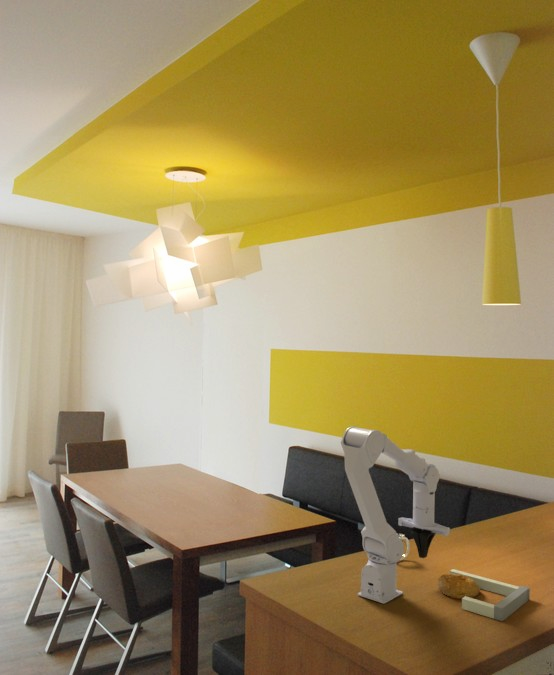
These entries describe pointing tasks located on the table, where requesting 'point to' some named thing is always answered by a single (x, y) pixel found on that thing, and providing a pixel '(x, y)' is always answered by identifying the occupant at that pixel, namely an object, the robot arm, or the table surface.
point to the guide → (505, 606)
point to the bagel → (458, 586)
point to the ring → (405, 545)
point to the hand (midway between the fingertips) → (423, 556)
